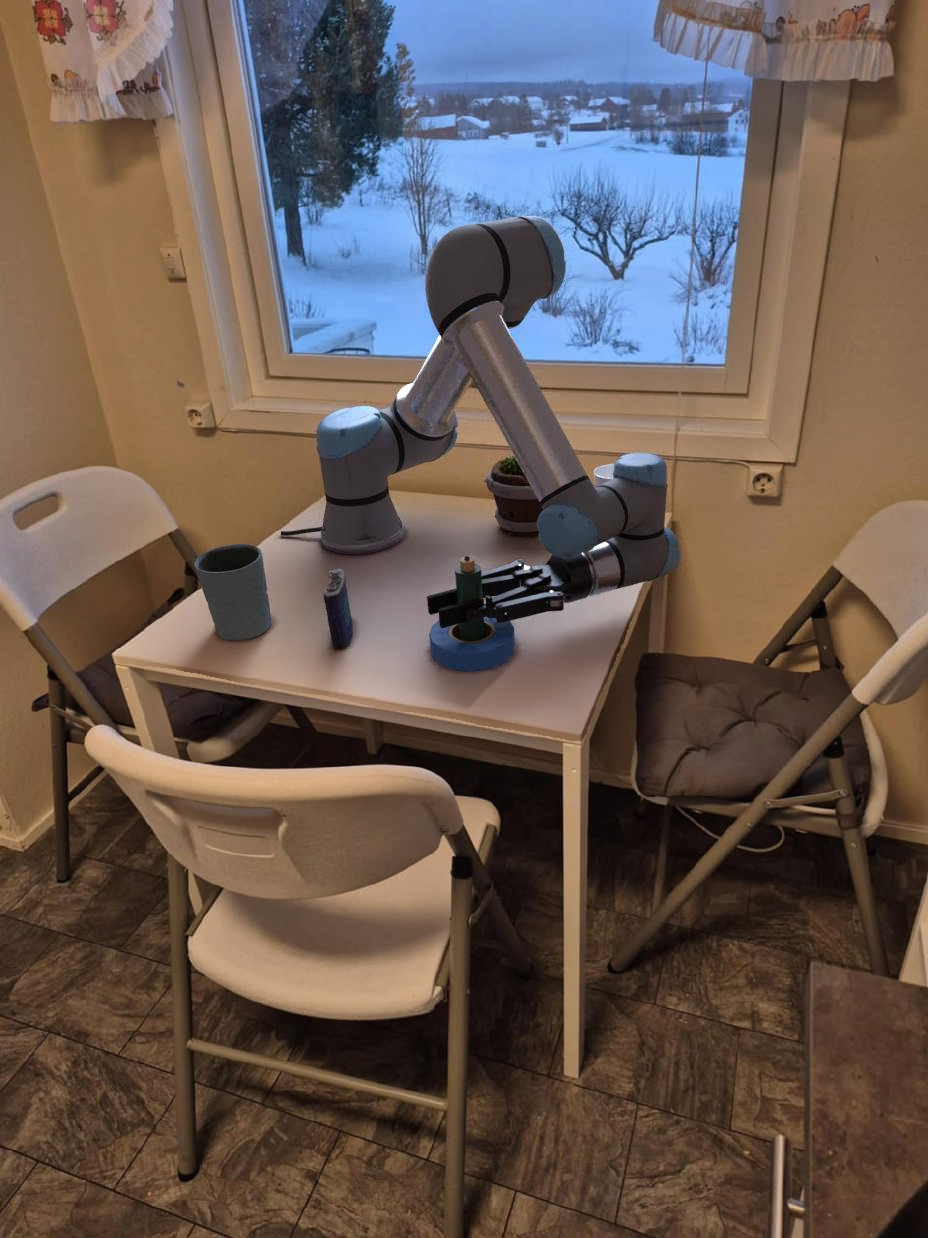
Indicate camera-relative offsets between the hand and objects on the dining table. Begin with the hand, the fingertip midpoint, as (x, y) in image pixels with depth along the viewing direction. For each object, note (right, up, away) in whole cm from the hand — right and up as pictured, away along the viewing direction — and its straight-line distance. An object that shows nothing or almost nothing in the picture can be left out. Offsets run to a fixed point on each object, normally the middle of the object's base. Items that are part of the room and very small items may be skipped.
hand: (434, 611), depth 118 cm
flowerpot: (+16, +16, +42) cm, 48 cm away
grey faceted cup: (+32, +17, +41) cm, 55 cm away
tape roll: (+5, -5, +6) cm, 9 cm away
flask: (-14, -3, +12) cm, 19 cm away
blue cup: (-30, -2, +16) cm, 34 cm away
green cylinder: (+5, -5, +6) cm, 9 cm away
